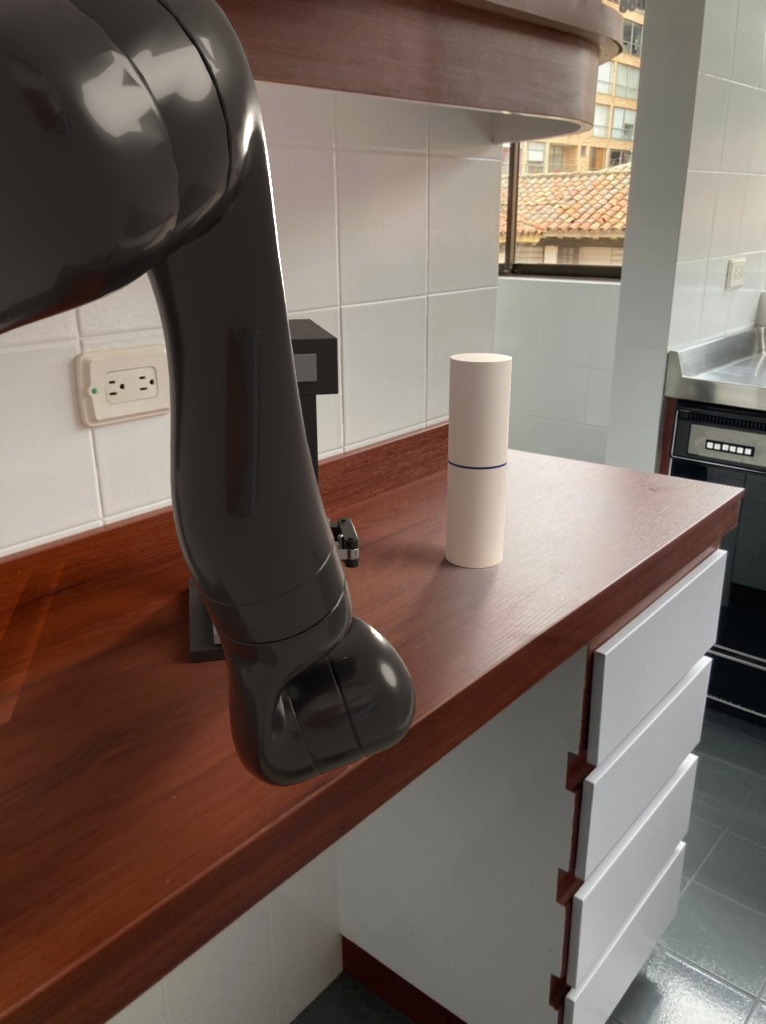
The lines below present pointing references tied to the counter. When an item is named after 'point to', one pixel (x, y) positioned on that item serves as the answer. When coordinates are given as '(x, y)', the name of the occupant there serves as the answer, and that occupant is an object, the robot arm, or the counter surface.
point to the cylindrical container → (477, 458)
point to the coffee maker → (314, 378)
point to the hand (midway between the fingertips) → (266, 519)
